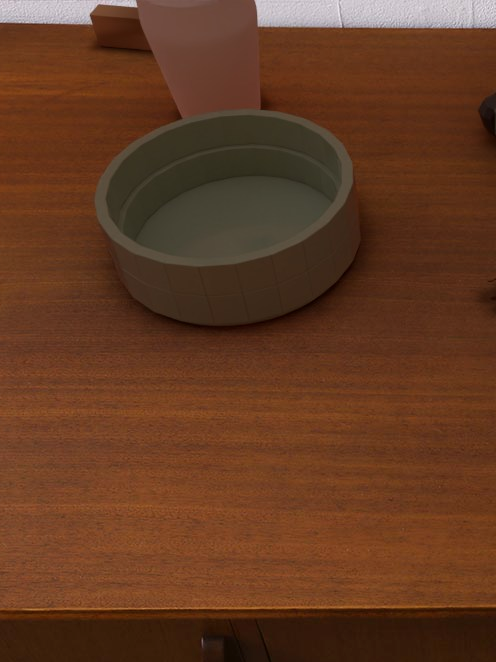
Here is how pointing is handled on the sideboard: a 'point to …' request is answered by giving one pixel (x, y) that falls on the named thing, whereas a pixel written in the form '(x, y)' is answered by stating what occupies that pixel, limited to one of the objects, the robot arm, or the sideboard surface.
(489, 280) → the insect
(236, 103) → the cup
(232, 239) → the bowl
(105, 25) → the round-ended wooden block
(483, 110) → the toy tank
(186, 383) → the sideboard surface
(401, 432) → the sideboard surface
